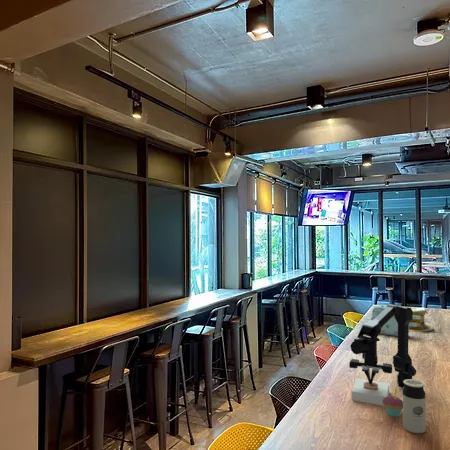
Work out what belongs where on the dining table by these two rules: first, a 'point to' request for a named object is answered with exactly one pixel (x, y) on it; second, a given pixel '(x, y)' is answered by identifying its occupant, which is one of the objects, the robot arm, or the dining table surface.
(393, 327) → the lunch box
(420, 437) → the dining table surface
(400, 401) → the cupcake
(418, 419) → the travel mug
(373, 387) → the button
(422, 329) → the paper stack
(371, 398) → the button box
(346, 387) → the dining table surface
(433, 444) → the dining table surface
